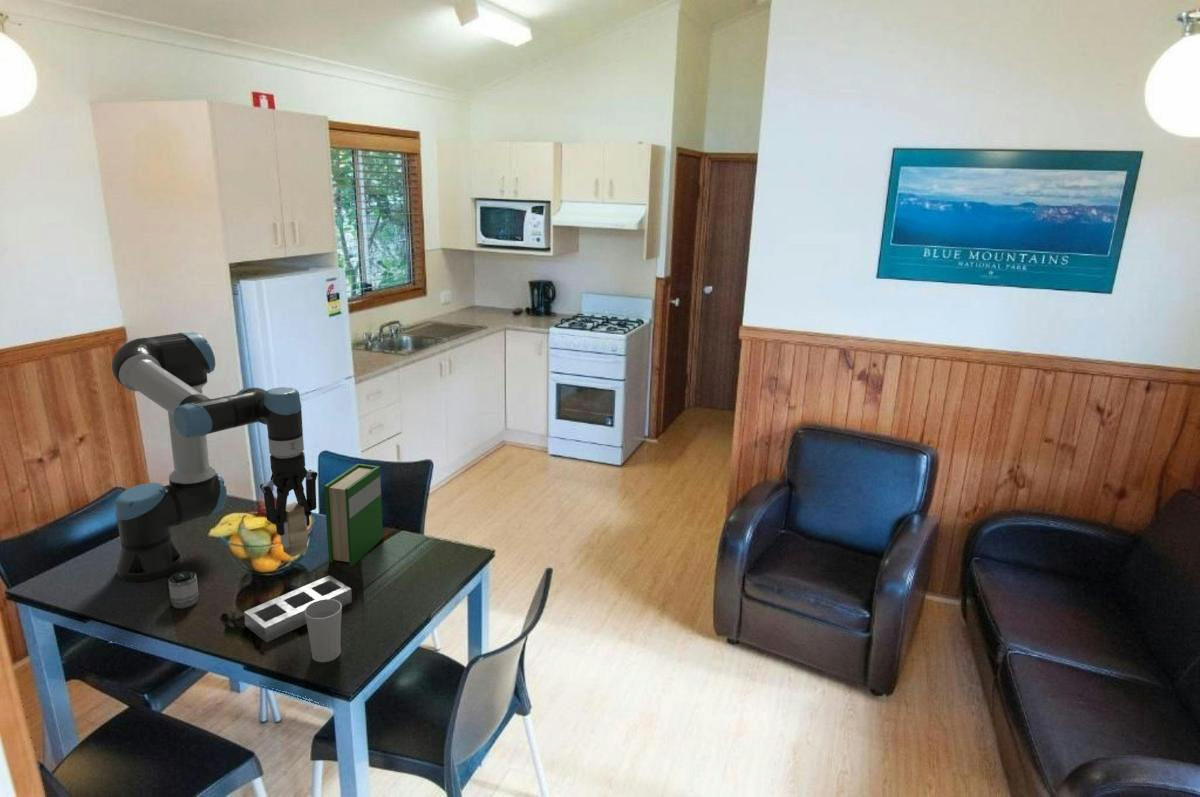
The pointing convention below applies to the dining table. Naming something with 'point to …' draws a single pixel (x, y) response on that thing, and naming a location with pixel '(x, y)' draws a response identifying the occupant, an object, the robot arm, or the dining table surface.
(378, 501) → the hardback book
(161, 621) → the dining table surface
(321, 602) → the cup
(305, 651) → the dining table surface
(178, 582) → the camera lens
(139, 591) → the dining table surface
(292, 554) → the peg
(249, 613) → the grey slotted block
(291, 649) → the dining table surface
